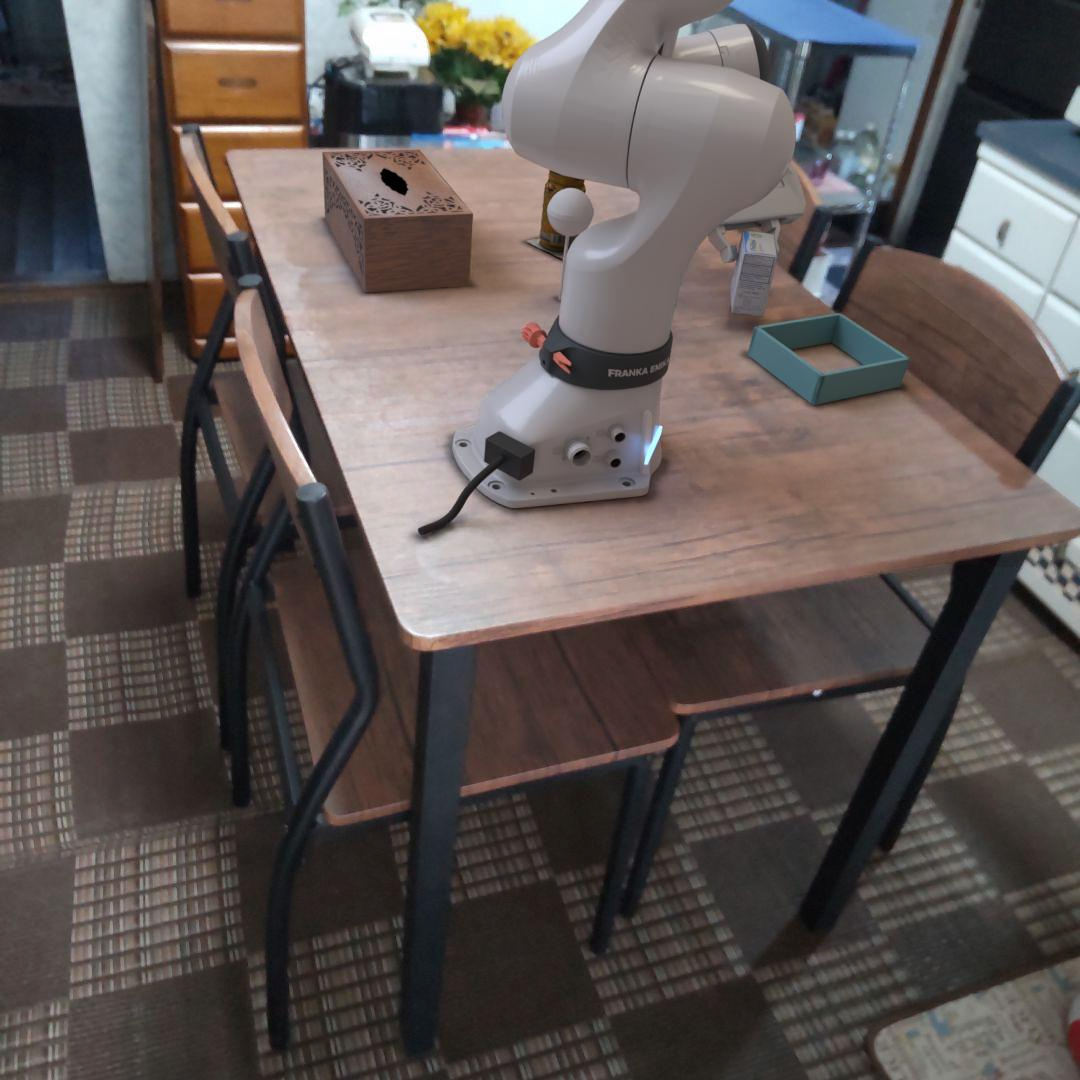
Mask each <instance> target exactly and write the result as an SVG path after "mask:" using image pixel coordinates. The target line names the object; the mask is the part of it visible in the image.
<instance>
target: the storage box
mask: <svg viewBox="0 0 1080 1080" xmlns="http://www.w3.org/2000/svg"><path fill="white" fill-rule="evenodd" d="M830 343H831V344H833V345H834V346H836V347H837V348H838V349H840V350H841V351H842V352H844V353H846V354H847V355H849V356H850V357H851V358H853V359H854V360H856V361H857V362H859V363H861V364H862V365H858V366H852V367H848V368H843V369H837V370H833V371H832V370H831V371H827V372H822V371H821V370H819V369H818V368H816V367H815V366H814V365H812V364H811V363H809V362H808V361H806V360H805V359H804V358H803V357H801V356H800V355H798V354H797V353H796V352H794V351H793V350H796V349H802V348H807V347H813V346H819V345H824V344H830ZM747 356H748V357H749V358H751V359H752V360H754V361H755V362H756V363H757V364H759V365H760V366H761V367H763V368H764V369H765V370H767V372H769V373H770V374H771V375H773V376H774V377H775V378H777V379H778V380H780V382H782V383H783V384H785V385H786V386H787V387H789V388H790V389H791V390H792V391H794V392H795V393H796V394H798V395H799V396H800V397H802V398H803V399H804V400H806V401H807V402H808V403H809V404H811V405H812V406H817V405H822V404H826V403H831V402H837V401H841V400H845V399H850V398H855V397H860V396H864V395H870V394H873V393H879V392H884V391H888V390H892V389H897V388H901V387H902V383H903V380H904V377H905V376H906V372H907V369H908V367H909V365H910V362H911V358H910V357H909V356H907V355H905V354H904V353H902V352H901V351H899V350H898V349H896V348H895V347H893V346H891V344H888V343H887V342H885V341H884V340H882V339H881V338H879V337H878V336H876V335H875V334H873V333H872V332H871V331H869V330H867V329H866V328H864V327H862V326H861V325H859V324H858V323H856V322H855V321H853V320H851V319H850V318H849V317H847V316H846V315H844V314H843V313H841V312H836V313H829V314H823V315H817V316H811V317H805V318H798V319H792V320H787V321H781V322H780V321H779V322H775V323H769V324H763V325H762V324H761V325H757V326H756V325H755V326H754V327H753V331H752V335H751V338H750V342H749V347H748V351H747Z"/></svg>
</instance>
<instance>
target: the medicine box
mask: <svg viewBox="0 0 1080 1080" xmlns="http://www.w3.org/2000/svg"><path fill="white" fill-rule="evenodd" d="M737 253H738V255H739V258H738V259H737V260H735V262H734V268H733V273H732V278H731V281H730V289H729V293H730V294H729V295H730V306H731V307H730V309H731V310H730V312H731V313H732V314H736V315H742V316H748V317H749V316H750V317H757V318H763V317H765V312H766V307H767V303H768V299H769V294H770V291H771V286H772V282H773V278H774V275H775V274H774V273H775V269H776V266H777V261H778V255H777V251H776V244H775V236H774V235H773V234H768V233H763V231H752V230H743V231H742V233H741V237H740V240H739V246H738V248H737Z"/></svg>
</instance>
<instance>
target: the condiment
mask: <svg viewBox="0 0 1080 1080" xmlns="http://www.w3.org/2000/svg"><path fill="white" fill-rule="evenodd" d="M547 175H548V177H547V178H548V179H547V180H546V181H545V184H544V190H543V202H542V210H541V220H540V231H539V238H532V239H529V240H526V242H527V243H529V244H530V245H532V246H534V247H536V248H538V249H540V250H541V251H544V252H546V253H547V252H548V253H549V254H551V255H553V256H555V257H557V258H559V259H562V260H563V256H564V248H565V239H566V236H565V235H562V234H560V233H558V232H557V231H556V230H555V229H554V228H553V227H552V226H551V224H550V222H549V219H548V214H547V208H548V204H549V202H550V200H551V199H552V197H553V196H554V195H555V194H556V193H557V192H559V191H561V190H563V189H566V188H575V189H578V190H580V191H582V192H584V193H585V194H586V191H587V187H586V185H585V181H586V180H583V179H578V178H573V177H568V176H563V175H561V174H558V173H556V172H553V171H551V170H549V169H548V174H547ZM578 235H579V234H578ZM578 235H575V236H569V243H568V250H569V248H570V246H571V244H572V243H573V241H574V240H575V239H576V237H577V236H578ZM567 253H568V252H567Z"/></svg>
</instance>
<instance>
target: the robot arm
mask: <svg viewBox="0 0 1080 1080" xmlns="http://www.w3.org/2000/svg"><path fill="white" fill-rule="evenodd" d="M733 2H735V0H588V1H586V3H584V5H583V6H582V7H581V9H579V11H578V12H577V13H576V14H575V15H574V16H572V18H571V19H570V20H569V21H567V22H566V23H565V24H564V25H562V26H561V27H560V28H559V29H557V30H556V31H555V32H553V33H552V34H550V35H548V36H547V37H545V38H543V39H541V40H539V41H537V42H535V43H533V44H532V45H531V46H530V47H528V48H527V49H525V51H523V53H522V54H521V55H520V56H519V57H518V58H517V60H516V61H515V63H514V64H513V65H512V67H511V69H510V71H509V72H508V75H507V77H506V81H505V83H504V86H503V90H502V95H501V107H500V108H501V120H502V125H503V131H504V132H505V136H506V138H507V140H508V143H509V144H510V147H511V149H513V152H514V153H515V154H516V155H517V156H519V157H520V158H522V159H524V160H526V161H529V162H531V163H533V164H535V165H537V166H539V167H542V168H544V169H546V170H548V171H549V170H551V171H553V172H556V173H558V174H561V175H563V176H568V177H573V178H578V179H583V180H585V181H587V182H592V183H593V182H594V183H598V184H603V185H608V186H613V187H616V188H617V187H618V188H622V189H627V190H630V191H631V192H634V193H636V194H637V195H638V198H639V200H638V207H637V210H635V211H633V212H630V213H629V214H625V215H622V216H618V217H614V218H610V219H607V220H604V221H601V222H598V223H596V224H594V225H591V226H588V228H587V229H586V230H584V231H583V232H582V233H580V234H579V235H578V236H577V237H576V239H575V240H574V241H573V243H572V244H571V246H570V248H569V250H568V253H567V256H566V263H565V271H564V280H563V289H562V297H561V300H560V305H559V314H558V315H557V316H556V318H555V320H554V321H553V323H552V325H551V327H550V328H549V331H548V333H547V332H546V331H545V330H544V329H542V328H541V327H540V325H539V324H538V323H537V322H535V321H530V322H528V323H526V324H525V325H524V327H522V331H521V338H522V339H523V340H524V341H525V342H527V343H528V345H529V346H530V347H531V348H533V349H538V348H540V349H539V352H538V355H537V356H535V357H534V358H532V359H531V360H530V361H529V362H527V363H526V364H524V365H523V366H522V367H520V368H519V369H518V370H517V371H515V372H514V373H513V374H511V375H510V376H509V377H507V378H506V379H504V380H503V381H502V382H500V383H499V384H498V385H496V386H495V387H494V388H492V389H490V390H489V391H488V392H487V393H486V394H485V396H484V397H483V398H482V401H481V403H480V405H479V406H480V407H479V409H478V412H477V417H476V420H475V423H474V424H471V425H470V424H469V425H468V426H464V427H462V428H459V429H457V430H456V431H455V432H454V435H453V438H452V440H453V441H452V444H451V445H452V447H451V450H452V454H453V457H454V460H455V462H456V464H457V466H458V467H459V469H460V470H461V472H462V473H463V475H464V476H465V477H466V479H468V481H469V482H468V483H467V485H466V486H465V487H464V488H463V490H462V491H461V492H460V494H459V496H458V498H457V499H456V501H455V503H454V504H453V506H452V507H451V509H450V510H449V511H448V512H447V513H446V514H445V515H443V516H442V517H441V518H440V519H438V520H435V521H432V522H430V523H428V524H425V525H423V526H420V527H418V528H417V533H418V534H419V536H423V537H424V536H425V535H427V534H430V533H432V532H435V531H438V530H440V529H442V528H445V527H446V526H447V525H449V524H450V523H451V522H452V521H454V520H455V519H456V518H457V517H458V515H459V514H460V512H461V511H462V509H463V508H464V506H465V504H466V503H467V501H468V500H469V498H470V496H471V494H473V493H474V491H475V490H476V489H477V490H478V491H479V492H480V493H482V494H483V495H484V496H486V497H487V498H488V499H490V500H492V501H494V502H495V503H497V504H499V505H501V506H503V507H506V508H509V509H522V508H533V507H542V506H553V505H562V504H563V505H564V504H575V503H585V502H595V501H603V500H604V501H605V500H615V499H624V498H625V499H626V498H635V497H643V496H645V495H647V494H648V493H649V490H650V483H651V477H652V476H653V474H654V473H655V472H656V471H657V470H658V468H659V466H660V465H661V462H662V460H663V450H662V444H661V435H662V431H663V426H662V425H660V414H661V413H660V410H661V395H662V386H663V378H664V377H665V376H666V374H667V373H668V370H669V365H670V359H671V355H672V347H673V342H674V335H673V332H672V325H673V319H674V315H675V311H676V306H677V303H678V298H679V294H680V291H681V289H682V288H681V287H682V284H683V281H684V278H685V274H686V272H687V269H688V266H689V265H690V262H691V260H692V259H693V256H694V255H695V253H696V252H697V250H698V248H699V247H700V246H701V244H702V243H704V241H705V240H706V238H708V242H710V244H712V246H713V247H714V248H715V249H716V250H717V252H719V254H720V258H721V261H722V263H723V264H731V263H735V262H736V260H737V259H738V258H739V255H738V248H737V247H738V246H737V245H732V244H730V242H729V241H728V239H727V238H726V237H725V234H726V233H727V232H731V231H732V232H733V231H741V230H750V229H757V228H758V229H759V228H761V230H762V231H761V232H762V233H768V234H773V235H774V236H775V244H776V251H777V256H778V255H779V254H780V253H781V252H780V246H779V243H778V240H779V236H780V232H781V226H783V225H791V224H792V223H794V222H796V221H797V220H798V219H800V218H802V217H803V215H805V211H806V208H807V202H806V198H805V194H804V191H803V187H802V184H801V181H800V178H799V174H798V172H797V171H796V169H795V168H794V166H793V165H792V164H791V163H792V159H793V157H794V153H795V149H796V148H795V147H796V141H797V125H796V118H795V114H794V110H793V107H792V103H791V101H790V100H789V98H788V95H787V94H786V93H785V90H784V89H782V88H781V87H779V86H776V85H774V84H773V83H770V82H771V79H772V76H773V69H772V62H771V56H770V54H769V48H768V46H767V42H766V40H765V38H764V37H763V36H762V35H761V34H760V33H759V32H758V30H757V29H755V28H754V27H752V26H751V25H749V24H747V23H745V22H744V23H734V24H730V25H725V26H721V27H717V28H712V29H707V30H705V31H701V32H697V33H694V34H690V35H686V36H681V37H678V36H679V33H680V29H682V28H683V27H685V26H688V25H690V24H693V23H696V22H700V21H703V20H705V19H708V18H711V17H713V16H715V15H717V14H719V13H720V12H722V11H724V10H725V9H726V8H727V7H729V6H730V5H731V4H732V3H733Z"/></svg>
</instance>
